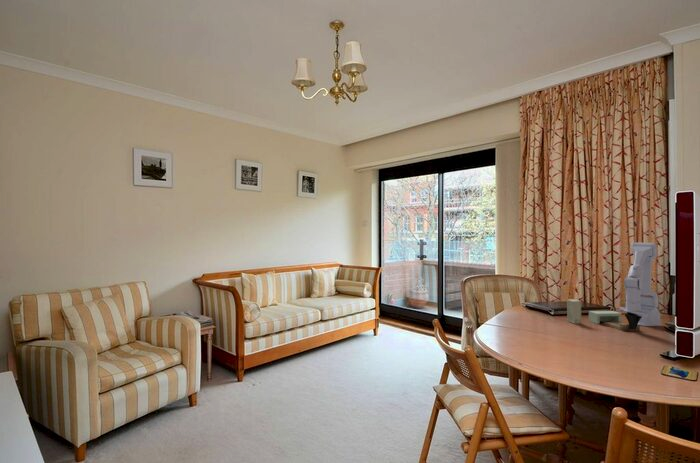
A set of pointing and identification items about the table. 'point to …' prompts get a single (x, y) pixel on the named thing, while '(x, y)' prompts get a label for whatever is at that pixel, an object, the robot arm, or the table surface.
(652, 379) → the table surface
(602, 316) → the shelf
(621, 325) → the board
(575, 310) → the skincare box
